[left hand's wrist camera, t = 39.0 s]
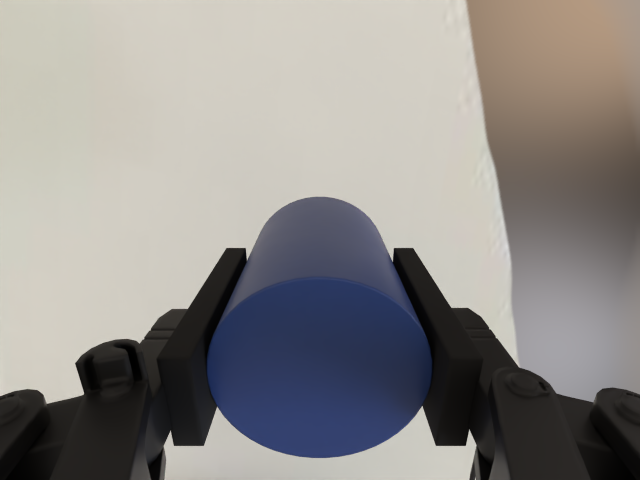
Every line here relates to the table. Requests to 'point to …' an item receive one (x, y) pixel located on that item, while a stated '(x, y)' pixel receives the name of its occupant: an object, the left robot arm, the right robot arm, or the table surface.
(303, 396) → the can
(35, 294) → the table surface
